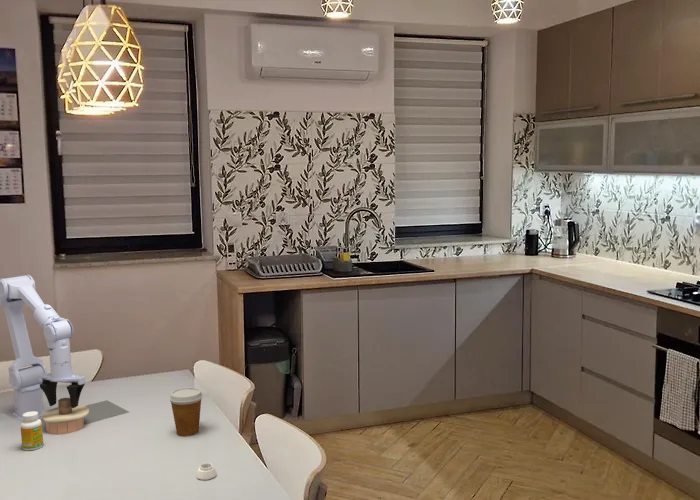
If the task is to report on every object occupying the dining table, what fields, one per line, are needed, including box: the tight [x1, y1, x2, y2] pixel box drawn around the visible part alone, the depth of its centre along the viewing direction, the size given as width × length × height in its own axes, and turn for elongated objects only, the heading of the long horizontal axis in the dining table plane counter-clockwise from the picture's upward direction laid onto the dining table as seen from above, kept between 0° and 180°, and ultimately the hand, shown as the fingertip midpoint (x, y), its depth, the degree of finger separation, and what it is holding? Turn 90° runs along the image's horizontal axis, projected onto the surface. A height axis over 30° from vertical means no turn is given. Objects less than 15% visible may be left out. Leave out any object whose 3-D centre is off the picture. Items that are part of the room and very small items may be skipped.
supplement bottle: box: [20, 411, 44, 451], centre depth 198 cm, size 5×5×10 cm
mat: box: [84, 399, 130, 425], centre depth 225 cm, size 16×14×1 cm
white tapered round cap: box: [195, 462, 218, 481], centre depth 179 cm, size 5×3×5 cm
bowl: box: [45, 418, 85, 435], centre depth 212 cm, size 10×10×4 cm
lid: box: [41, 397, 89, 423], centre depth 212 cm, size 13×13×5 cm
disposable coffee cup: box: [168, 387, 204, 437], centre depth 207 cm, size 10×10×12 cm
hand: (63, 406), depth 211 cm, fingers open, 7 cm apart
